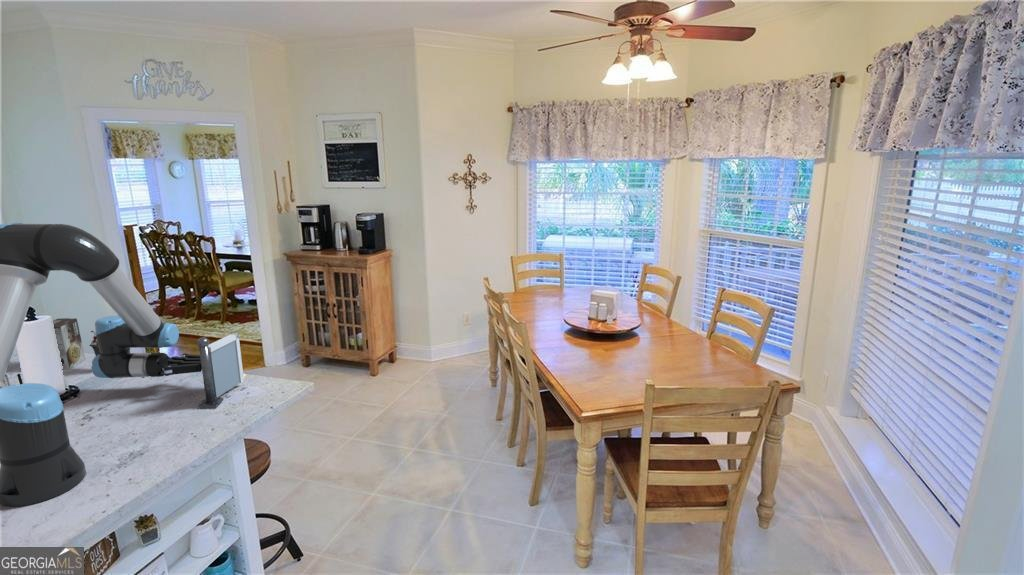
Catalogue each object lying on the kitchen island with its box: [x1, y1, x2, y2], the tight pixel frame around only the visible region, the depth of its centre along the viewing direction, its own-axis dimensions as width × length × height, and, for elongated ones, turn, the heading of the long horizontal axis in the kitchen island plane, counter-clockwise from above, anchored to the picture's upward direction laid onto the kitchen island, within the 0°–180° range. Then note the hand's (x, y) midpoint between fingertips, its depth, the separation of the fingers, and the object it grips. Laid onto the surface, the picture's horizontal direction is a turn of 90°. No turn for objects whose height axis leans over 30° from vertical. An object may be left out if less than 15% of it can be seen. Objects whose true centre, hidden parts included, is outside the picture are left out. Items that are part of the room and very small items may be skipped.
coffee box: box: [52, 317, 86, 371], centre depth 180 cm, size 9×6×16 cm
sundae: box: [89, 330, 100, 356], centre depth 176 cm, size 7×7×15 cm
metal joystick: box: [196, 336, 224, 410], centre depth 153 cm, size 5×5×22 cm
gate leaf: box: [208, 332, 245, 398], centre depth 161 cm, size 12×2×17 cm, turn 171°
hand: (229, 363), depth 164 cm, fingers closed
